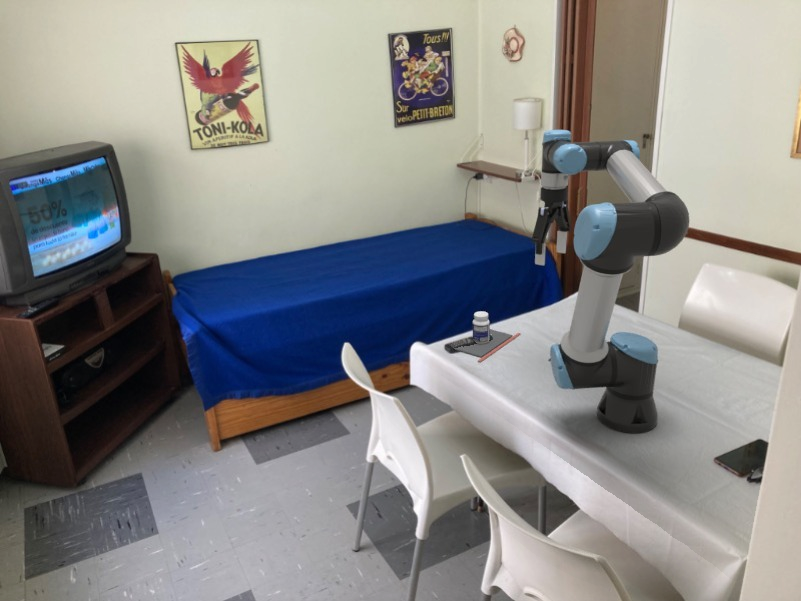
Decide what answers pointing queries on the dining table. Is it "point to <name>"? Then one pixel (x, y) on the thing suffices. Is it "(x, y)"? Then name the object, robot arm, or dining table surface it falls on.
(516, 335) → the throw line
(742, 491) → the dining table surface
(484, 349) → the mat
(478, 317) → the pill bottle
